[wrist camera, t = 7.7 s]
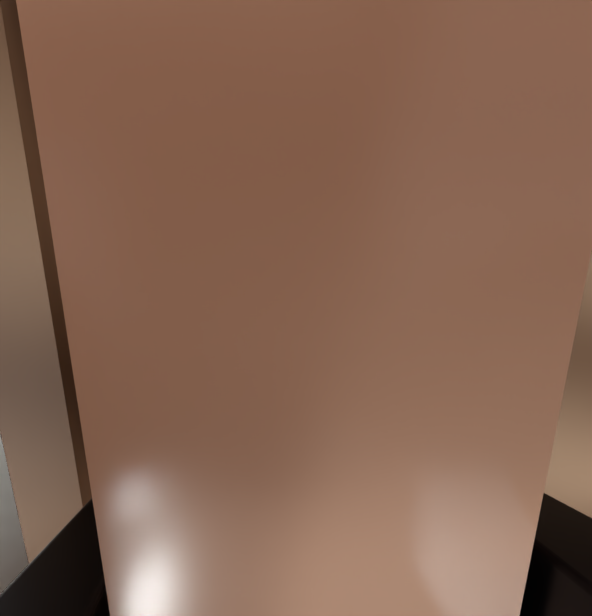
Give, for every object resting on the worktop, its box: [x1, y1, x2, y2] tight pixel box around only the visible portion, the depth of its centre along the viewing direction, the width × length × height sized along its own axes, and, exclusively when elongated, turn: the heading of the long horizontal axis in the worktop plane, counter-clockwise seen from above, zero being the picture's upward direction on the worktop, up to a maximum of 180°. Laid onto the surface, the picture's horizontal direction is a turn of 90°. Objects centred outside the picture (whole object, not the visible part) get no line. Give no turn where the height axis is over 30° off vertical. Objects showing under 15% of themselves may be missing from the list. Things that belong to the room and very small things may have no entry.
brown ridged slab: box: [0, 0, 592, 564], centre depth 12 cm, size 14×18×2 cm
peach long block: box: [16, 0, 592, 616], centre depth 7 cm, size 12×4×4 cm, turn 0°
